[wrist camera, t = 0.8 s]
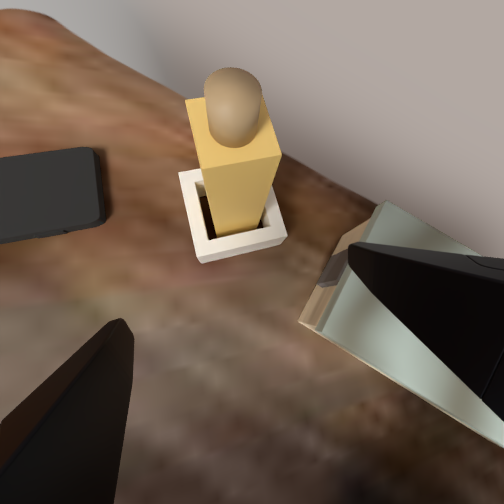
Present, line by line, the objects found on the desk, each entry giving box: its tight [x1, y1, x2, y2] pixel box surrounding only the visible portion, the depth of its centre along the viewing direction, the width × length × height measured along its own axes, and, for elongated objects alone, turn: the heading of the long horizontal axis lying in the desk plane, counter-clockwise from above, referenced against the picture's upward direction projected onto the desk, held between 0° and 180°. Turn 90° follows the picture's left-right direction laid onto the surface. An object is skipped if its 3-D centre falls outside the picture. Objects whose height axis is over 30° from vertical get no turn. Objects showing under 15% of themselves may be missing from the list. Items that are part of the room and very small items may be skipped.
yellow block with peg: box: [185, 67, 282, 238], centre depth 16 cm, size 4×4×14 cm
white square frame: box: [178, 169, 287, 263], centre depth 21 cm, size 8×8×3 cm
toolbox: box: [298, 200, 504, 448], centre depth 18 cm, size 21×11×8 cm, turn 59°
